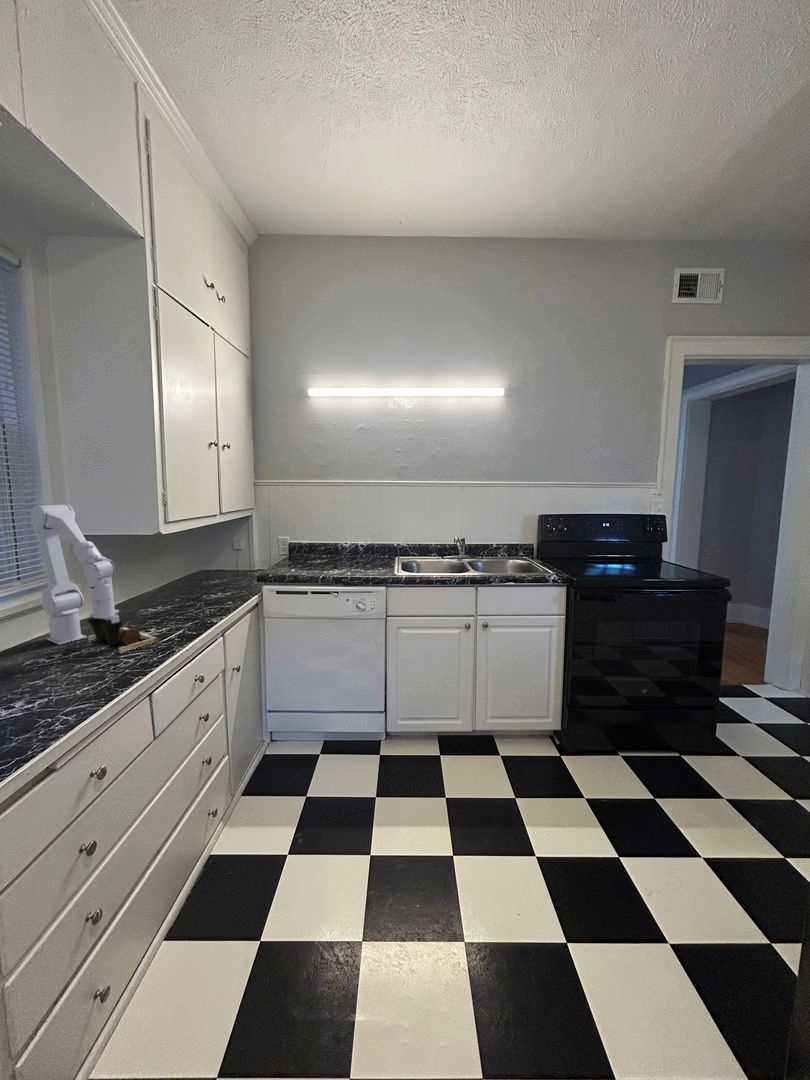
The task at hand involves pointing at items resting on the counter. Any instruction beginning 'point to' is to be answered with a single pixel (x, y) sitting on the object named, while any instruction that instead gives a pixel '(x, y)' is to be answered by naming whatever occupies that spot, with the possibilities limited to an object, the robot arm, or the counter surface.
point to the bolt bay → (148, 640)
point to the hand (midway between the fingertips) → (107, 641)
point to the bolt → (128, 636)
